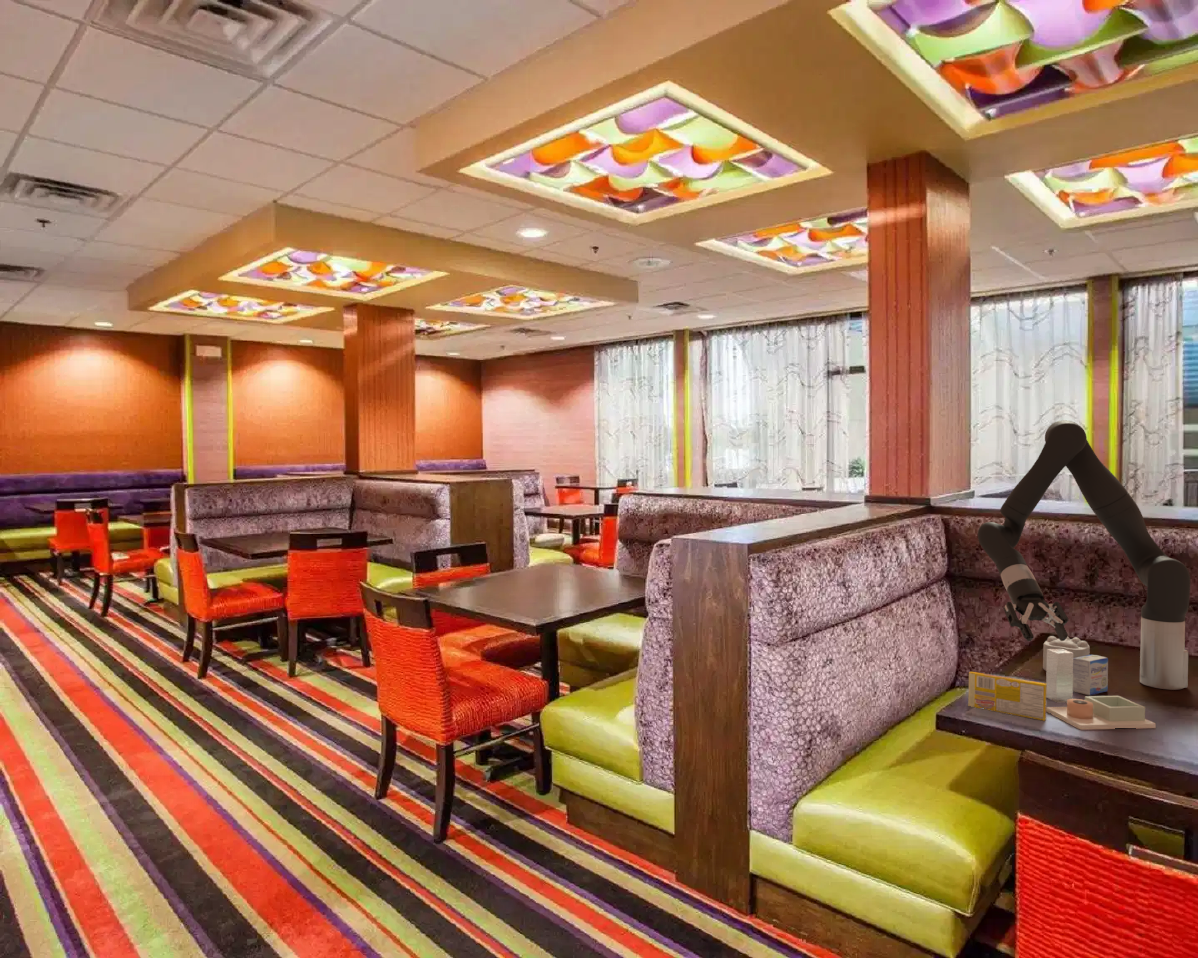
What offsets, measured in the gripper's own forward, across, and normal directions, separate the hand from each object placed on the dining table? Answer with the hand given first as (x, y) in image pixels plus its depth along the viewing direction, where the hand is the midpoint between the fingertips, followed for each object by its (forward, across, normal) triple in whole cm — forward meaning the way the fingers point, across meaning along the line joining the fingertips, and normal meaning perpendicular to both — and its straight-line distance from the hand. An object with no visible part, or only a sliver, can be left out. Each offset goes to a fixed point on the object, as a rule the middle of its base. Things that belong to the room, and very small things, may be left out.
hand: (1047, 639), depth 194 cm
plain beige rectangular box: (+13, 0, +6) cm, 15 cm away
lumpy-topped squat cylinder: (-5, +20, +25) cm, 32 cm away
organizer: (+23, 0, -4) cm, 23 cm away
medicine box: (+9, +12, +11) cm, 19 cm away
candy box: (+19, -18, +1) cm, 26 cm away
